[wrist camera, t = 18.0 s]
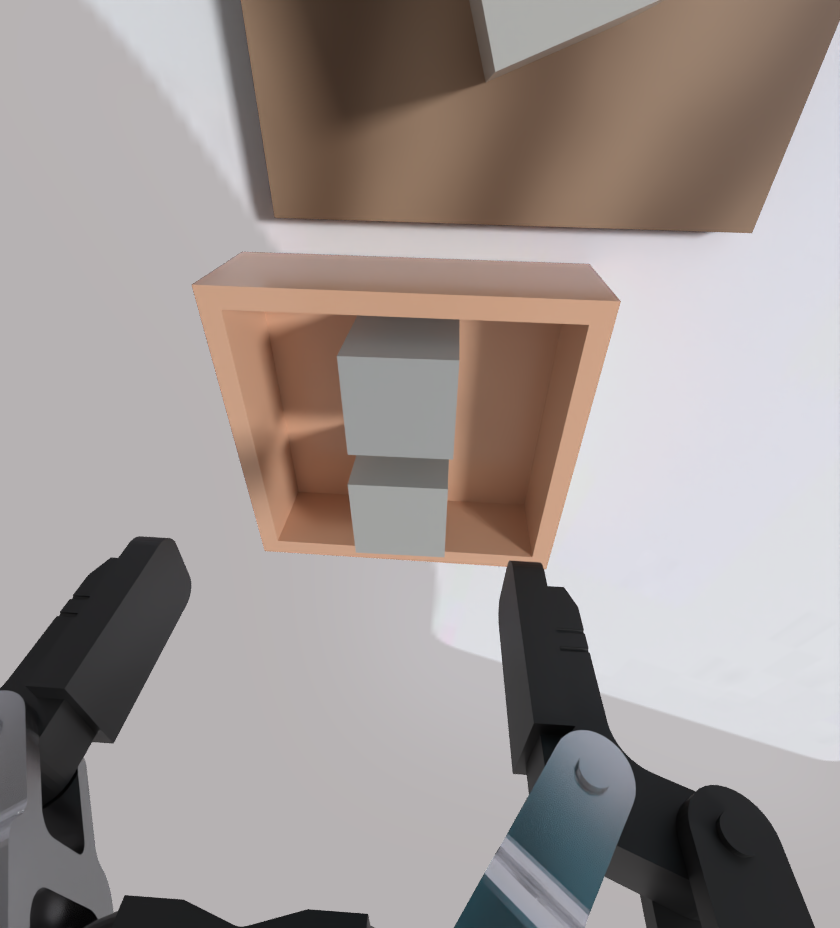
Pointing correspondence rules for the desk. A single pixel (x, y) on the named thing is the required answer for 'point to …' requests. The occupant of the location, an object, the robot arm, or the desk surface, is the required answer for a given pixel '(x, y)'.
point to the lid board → (531, 114)
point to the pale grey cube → (541, 27)
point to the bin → (478, 396)
